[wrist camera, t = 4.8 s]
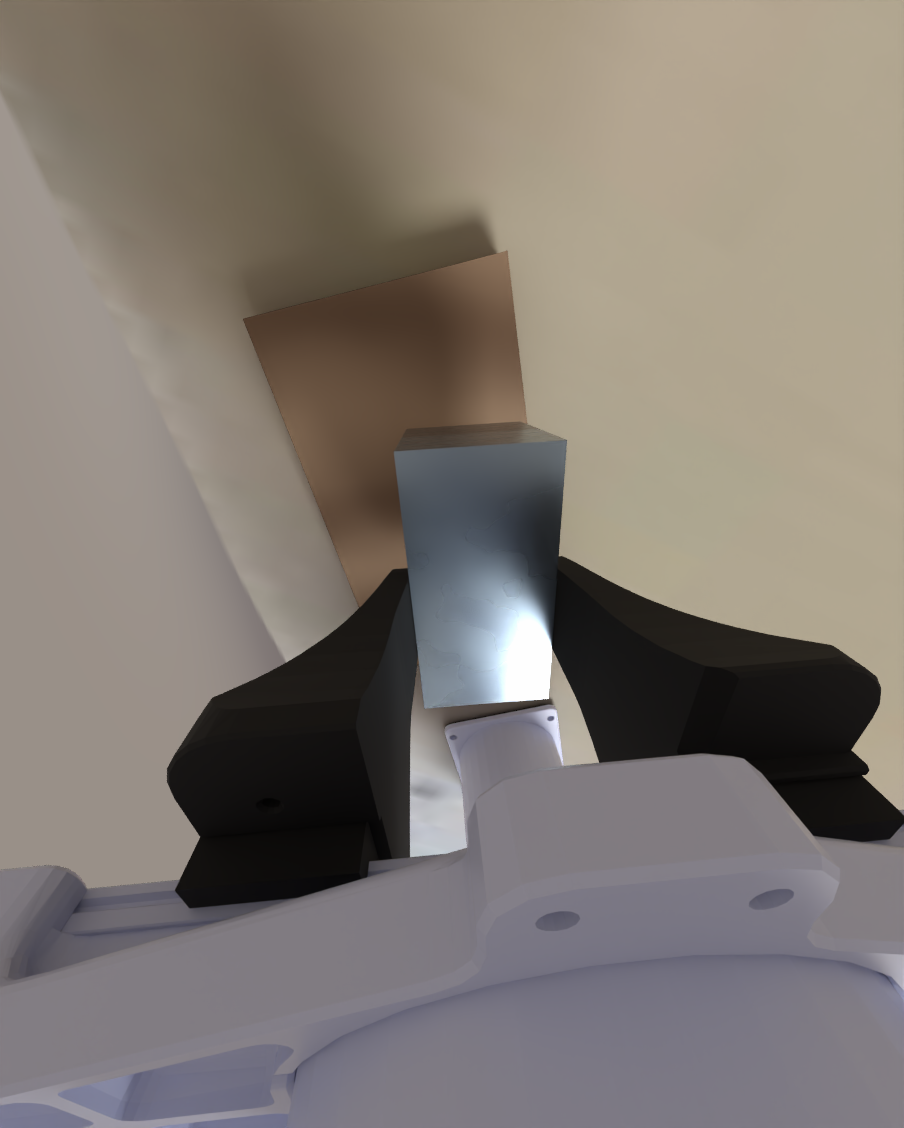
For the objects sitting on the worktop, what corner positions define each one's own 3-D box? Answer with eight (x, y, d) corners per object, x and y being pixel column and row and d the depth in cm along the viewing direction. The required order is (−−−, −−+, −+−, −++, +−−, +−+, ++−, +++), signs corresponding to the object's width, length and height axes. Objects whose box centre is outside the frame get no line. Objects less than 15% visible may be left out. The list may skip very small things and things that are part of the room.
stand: (544, 621, 23) (551, 637, 22) (387, 654, 24) (384, 671, 22) (500, 261, 15) (507, 250, 13) (258, 323, 15) (242, 319, 14)
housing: (520, 421, 13) (567, 439, 9) (516, 613, 17) (548, 698, 12) (406, 428, 13) (393, 451, 9) (426, 620, 17) (424, 708, 12)
